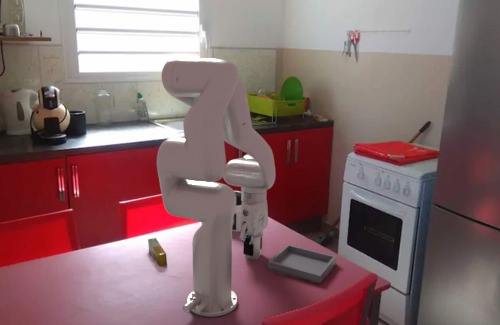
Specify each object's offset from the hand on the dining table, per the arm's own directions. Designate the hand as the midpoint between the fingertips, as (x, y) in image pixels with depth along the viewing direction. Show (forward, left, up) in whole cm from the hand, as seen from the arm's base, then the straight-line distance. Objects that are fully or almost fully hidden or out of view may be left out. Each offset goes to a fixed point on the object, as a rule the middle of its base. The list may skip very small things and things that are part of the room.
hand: (252, 251), depth 138 cm
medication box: (-16, +24, -2) cm, 29 cm away
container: (+16, +16, -2) cm, 23 cm away
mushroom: (0, 0, -2) cm, 2 cm away
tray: (+1, -16, -2) cm, 16 cm away
